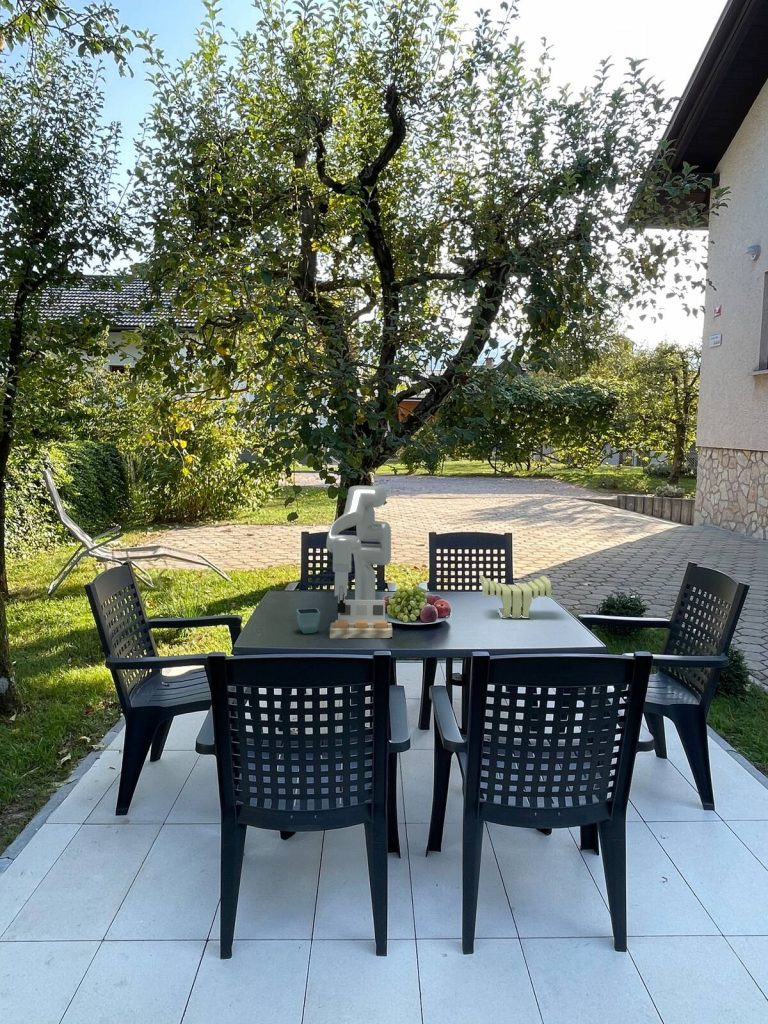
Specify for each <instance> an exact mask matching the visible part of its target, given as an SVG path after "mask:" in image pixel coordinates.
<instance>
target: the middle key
mask: <svg viewBox="0 0 768 1024" xmlns="http://www.w3.org/2000/svg"><path fill="white" fill-rule="evenodd" d="M355 628H367V620H355Z"/></svg>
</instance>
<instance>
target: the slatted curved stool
mask: <svg viewBox="0 0 768 1024" xmlns="http://www.w3.org/2000/svg"><path fill="white" fill-rule="evenodd" d="M479 582H480V584H481V588H482V596H483V597H484V598H486V597H489V596H490V597H497V598H499V599H500V600H501V603H502V607H500V608H499V607H498V609H499V610H500V612H501V613H502V615H503V617H510V614H511V615H512V617H520V616H521V615H522V616H524V617H529V618H530V614H529V613H530V612H529V611H530V608H531V605H532V604H533V603H532V602H533V600H535V599H537V598H539V597H541V598H545V597H546V598H549V599H551V598H552V584H551V580H550V579H549V578H548V577H546V576H545V575H542V576H540V577H539V578H536V579H534V580H532V581H531V580H530V581H528V582H527V583H526V582H525V583H524V582H523V583H519V584H506V583H500V582H496V581H494V580H491V579H489V578H487V577H485V576H483V575H482V574H479ZM510 618H511V617H510ZM520 618H521V617H520Z"/></svg>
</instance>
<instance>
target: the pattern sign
mask: <svg viewBox="0 0 768 1024" xmlns="http://www.w3.org/2000/svg"><path fill="white" fill-rule="evenodd" d="M345 603H346V606H345V613H338V612H337V620H348V623H355V620H367V623H375V620H385V619H386V600H385V599H375V600H355V599H345Z"/></svg>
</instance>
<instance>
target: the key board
mask: <svg viewBox="0 0 768 1024" xmlns="http://www.w3.org/2000/svg"><path fill="white" fill-rule="evenodd" d="M392 625H393V624H392V622H387V628H375V623H367V628H355V623H348V628H335V622H331V623H330V628H329V639H348V638H390V637H392V638H393V626H392Z"/></svg>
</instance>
